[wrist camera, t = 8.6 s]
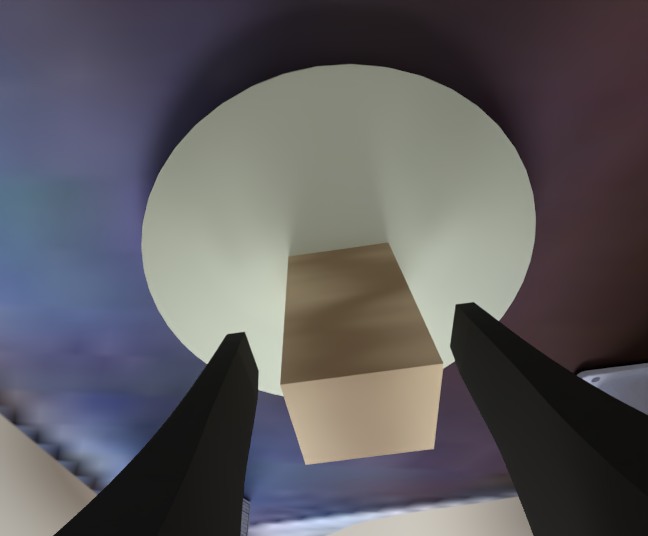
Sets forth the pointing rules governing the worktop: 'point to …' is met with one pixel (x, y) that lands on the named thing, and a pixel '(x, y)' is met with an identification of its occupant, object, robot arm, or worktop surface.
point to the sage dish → (334, 204)
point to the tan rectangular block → (357, 357)
